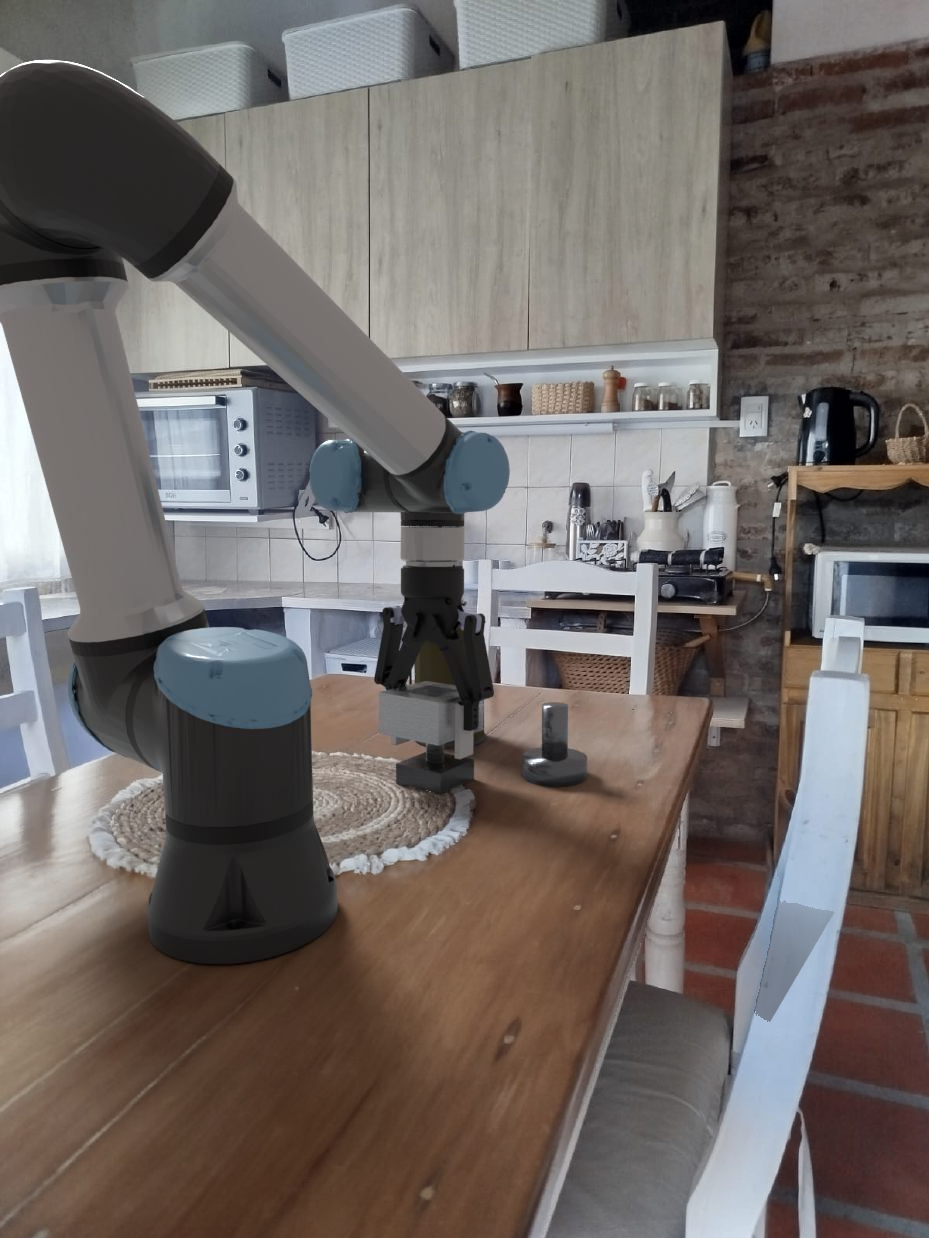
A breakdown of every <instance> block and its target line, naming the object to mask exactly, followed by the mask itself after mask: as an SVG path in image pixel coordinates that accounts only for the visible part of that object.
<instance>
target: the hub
mask: <svg viewBox="0 0 929 1238" xmlns="http://www.w3.org/2000/svg"><path fill="white" fill-rule="evenodd" d="M568 743H569V704H567V703H564V702H557V701H555V702H554V701H553V702H551V701H549V702H545V703H542V704H541V747H537V748H532V749H529V750H527V751H524V752H523V754H522V755H521V756H522V759H521V761H522V769H521V772H522V778H523V779H524V780H525V781H526V782H529V783H531V784H534V785H538V786H542V787H543V786H544V787H552V788H553V787H559V788H560V787H570V786H571V787H572V786H576V785H579V784H581V783H584V782H585V781H586V780H587V779H588V755H586V753H585V752H582V751H580V750H578V749H572V748H568V747H569V744H568Z"/></svg>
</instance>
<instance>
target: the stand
mask: <svg viewBox="0 0 929 1238" xmlns="http://www.w3.org/2000/svg"><path fill="white" fill-rule="evenodd" d="M474 779H475V758H471V757H465V758H462V759H456V758H455V754H451V753H446V752H445V748H444V744H442V745H439V746H438V745H433V744H428V743H426V746H425V752H422V753H420V754H417V755H415V756H412V757H409V758H406V759H404V760H402V761H399V762H397V763H395V782H396V784H397V785H402V786H406V787H409V788H413V787H415V788H414V789H417V788H418V789H417V790H422V791H425V790H428V791H427V792H429V791H431V792H430V793H433V792H434V794H438V795H442V794H445V793H447V792H449V791H451V790H453V789H456V788H457V787H459V786H462V785H464V784H466V783H468V782H471V781H473V780H474Z"/></svg>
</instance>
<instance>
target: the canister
mask: <svg viewBox="0 0 929 1238" xmlns="http://www.w3.org/2000/svg"><path fill="white" fill-rule="evenodd" d="M461 604H462V607H463V608H464V607H466V606H467V605H468V602H467V601H466V600H465V601H464V600H462V599H461ZM485 623H487V622H486V620H485ZM461 625H462V624H460V625H459V627H458V630H459V632H460V635H461V637H462V640H463V645H462V647H463V649H464V652H465V655H466V649H465V644H464V635H463V633H464V631H463V630H461ZM449 641H451V639H450V640H449ZM466 657H467V655H466ZM413 669H414V684H415V683H419V682H423V681H430V682H436V683H443V684H449V685H455V683H454V680H453V678H452V675H451V673H450V670H449V667H448V665H447V662H446V660H445V657H444V654H443V652H442V651H440V650H439V648H438V646H437V644H436V643H431V642H429V641H426V642H425V643H424V644H423V645H422V647H421V649H420V652H419V654H418V656H417V659H416V661H415V663H414V666H413ZM413 669H412V670H413ZM412 670H411V673H410V675H409V677H408V682H409V683H408V685H411V684H413V681H412V680H413V679H412V677H413V675H412ZM486 738H487V734H486V733H485V716H484V717H483V730H482V731H479V732H476V733H473V747H474V746H476V745H480V744H481V743H483V742H484V741H485V740H486ZM415 742H416V743H417V744H419V745H421V746H424V747H426V743H423V742H419V741H415ZM444 749H455V740H453V741H450V742H448V743H445V744H444Z"/></svg>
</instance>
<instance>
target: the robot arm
mask: <svg viewBox="0 0 929 1238" xmlns="http://www.w3.org/2000/svg"><path fill="white" fill-rule="evenodd" d="M124 260H125V261H126V262H127V263H129V264H130V265H132V267H134V268H135V269H136V270H137V271H138V272H139V273H141V274H142V275H143V276H145V277H146V279H148V280H150V282H155V283H156V282H158V283H159V282H160V283H161V282H171V283H173V284H174V285H176V286H177V287H178V288H179V289H181V291H182V292H183V293H185V295H187V296H188V297H189V298H190V299H191V300H193V301H194V302H195V303H196V304H197V305H198V306H200V308H202V309H203V310H204V311H205V312H207V314H208V315H210V316H211V317H212V318H213V319H214V320H215V321H217V322H218V323H219V324H220V325H221V326H222V327H224V328H225V329H226V330H227V331H228V332H229V333H230V334H231V335H232V336H233V337H235V338H236V339H237V340H238V341H239V342H240V343H242V345H243V346H245V347H246V348H247V349H248V350H250V351H251V352H252V353H253V354H254V355H255V356H256V357H257V358H259V359H260V360H261V361H262V362H263V363H264V364H265V365H266V366H268V367H269V368H270V369H271V370H272V371H274V372H275V373H276V375H278V376H279V377H280V378H281V379H283V380H284V381H285V382H286V383H287V384H288V385H290V386H291V387H292V388H293V389H294V390H295V391H296V392H297V393H298V394H300V395H301V396H302V397H303V398H304V399H305V400H306V401H308V402H309V403H310V404H311V405H312V406H313V407H314V408H315V409H317V410H318V411H319V412H320V413H321V414H322V415H323V416H325V417H326V418H327V419H328V420H329V421H330V422H332V423H333V424H334V426H336V427H337V428H338V429H340V431H342V433H344V434H345V435H346V436H347V437H348V438H347V439H329V440H326V441H325V442H323V443H321V444H320V445H319V446H318V447H317V448H316V450H315V451H314V453H313V455H312V457H311V461H310V464H309V465H310V466H309V469H308V472H309V486H310V491H311V493H312V495H313V497H314V499H315V500H316V503H317V504H318V505H319V506H320V507H321V508H323V509H325V510H327V511H330V512H341V513H343V512H344V513H345V514H353V513H399V514H400V557H399V558H400V560H401V561H403V562H405V565H402V567H400V595H402V596H403V597H404V598H403V603H402V606H401V605H394V606H387V607H384V608H383V609H382V612H381V613H382V622H383V623H382V624H383V625H382V626H383V627H382V628H383V629H382V634H381V639H380V643H379V644H380V645H379V649H378V655H377V661H376V667H375V670H374V671H375V673H374V679H373V680H374V683H375V684H376V685H379V686H380V685H381V686H382V687H384V689H385V691H386V690H390V689H394V688H399V687H403V686H407V685H408V684H407V682H408V681H409V675H410V673H411V670H413V669H414V663H415V661H416V659H417V656H418V654H419V652H420V649H421V647H422V645H423V644H424V643H425V642H426V641H429V642H431V643H436V644H437V646H438V648H439V650H440V651H442V652H443V654H444V657H445V660H446V662H447V665H448V667H449V670H450V673H451V675H452V678H453V680H454V683H455V686H456V688H457V691H458V694H459V696H460V699H461V701H459V702H458V703H456V704H455V748H454V755H455V758H456V759H462V758H465V757H466V758H468V757H469V756H473V755H474V746H473V730H475V729H477V728H478V725H479V717H478V716H479V702H480V701H481V700H484V701H485V700H487V699H491V698H493V697H494V695H495V691H494V684H493V680H492V671H491V668H490V660H489V656H488V652H487V651H488V650H487V645H486V639H485V625H486V622H485V621H486V616H485V615H484V613H469V612H466V611H465V610H464V606H462V604H461V600H462V599H463V596H464V594H465V568H463V567H464V566H462V565H460V562H462V561H463V560H465V514H466V513H476V512H485V511H488V510H491V509H493V508H495V506H496V505H497V504H499V503H500V502H501V500H502V499H503V497H504V495H505V493H506V489H507V488H508V486H509V481H510V474H511V473H510V471H511V470H510V468H511V467H510V462H509V461H510V460H509V457H508V454H507V451H506V449H505V447H504V446H503V444H502V443H501V441H500V440H499V439H498V438H496V437H495V436H494V435H492V434H489V433H486V432H476V431H475V430H467V431H465V432H462V431H461V430H459V428H457V426H456V425H455V424H454V423H453V422H452V421H451V420H450V419H449V418H448V417H447V416H445V414H443V412H442V411H441V410H440V409H439V408H438V407H437V406H436V405H435V404H434V403H433V402H432V401H431V400H430V399H429V398H428V396H426V394H424V393H423V392H422V391H421V390H420V389H419V388H418V386H417V385H415V383H414V382H413V381H412V380H410V378H409V377H408V376H407V375H406V373H404V372H403V371H402V370H401V369H400V368H399V366H397V364H395V362H393V361H392V360H391V359H390V358H389V356H388V355H386V353H384V351H383V350H381V348H379V346H378V345H377V344H376V343H375V342H374V341H373V340H372V339H371V338H370V337H369V336H368V335H367V334H366V333H365V332H364V331H363V330H362V329H361V328H360V327H359V326H358V325H357V323H355V322H354V321H353V320H352V319H351V317H349V315H347V313H346V312H345V311H344V310H343V309H342V308H341V307H340V306H339V305H338V303H336V302H335V301H334V300H333V299H332V298H331V297H330V296H329V295H328V293H326V292H325V291H324V290H323V288H321V286H319V284H318V283H317V282H316V281H314V280H313V278H312V277H311V276H310V275H309V274H308V273H306V271H305V270H304V269H303V268H302V267H301V266H300V265H299V264H298V263H297V261H295V260H294V258H292V257H291V255H289V254H288V253H287V252H286V251H285V250H284V248H282V246H281V245H280V244H278V242H277V241H276V240H275V239H274V238H273V237H272V236H271V235H270V234H269V233H268V232H267V231H266V230H265V229H264V228H263V227H262V226H261V225H260V224H259V222H257V221H256V220H255V219H254V218H253V216H251V214H250V213H249V212H247V210H246V209H245V208H244V207H243V206H242V205H241V204H240V203H239V198H238V186H237V180H236V179H235V178H234V177H233V176H232V175H231V173H229V172H228V171H227V170H226V169H225V168H224V167H223V165H222V164H221V163H220V162H219V161H218V160H216V158H215V157H214V156H212V154H210V152H209V151H208V150H207V149H205V147H204V146H203V145H202V144H201V143H200V142H199V141H198V140H197V139H196V138H195V137H194V136H193V135H192V134H190V133H189V132H188V131H187V130H186V129H185V128H183V127H182V126H181V125H180V124H179V123H178V122H176V121H175V120H174V119H173V118H172V117H171V116H169V115H168V114H166V113H165V112H164V111H162V109H160V108H159V107H158V106H156V105H155V104H154V103H152V102H151V101H150V100H148V99H147V98H145V96H143V95H141V94H140V93H138V92H137V91H135V90H134V89H133V88H131V87H129V86H128V85H127V84H124V83H123V82H120V81H119V80H118V79H117V80H116V79H115V78H113V77H112V76H109V75H108V74H105V73H104V72H102V71H99V70H97V69H93V68H91V67H88V66H85V65H83V64H79V63H75V62H71V61H64V60H55V59H43V60H40V59H39V60H33V61H28V62H24V63H21V64H18V65H17V66H14V67H12V68H10V69H8V70H7V71H5V72H3V73H2V74H0V324H1V326H2V329H3V333H4V337H5V341H6V345H7V349H8V351H9V355H10V359H11V362H12V367H13V369H14V374H15V378H16V380H17V383H18V387H19V392H20V397H21V400H22V402H23V407H24V410H25V414H26V416H27V421H28V424H29V428H30V431H31V435H32V438H33V441H34V446H35V451H36V453H37V456H38V460H39V463H40V467H41V472H42V475H43V478H44V482H45V485H46V486H45V487H46V489H47V492H48V496H49V500H50V503H51V507H52V512H53V514H54V518H55V521H56V525H57V530H58V533H59V537H60V540H61V542H62V547H63V551H64V554H65V555H64V556H65V558H66V561H67V564H68V568H69V569H68V570H69V572H70V577H71V579H72V580H71V581H72V583H73V587H74V591H75V594H76V598H77V601H78V605H79V610H80V611H79V614H78V616H77V617H76V619H75V620H74V622H73V623H72V625H71V626H70V628H69V630H68V631H67V637H68V641H69V644H70V647H71V650H72V655H73V658H74V663H73V665H72V666H71V668H70V671H69V675H68V681H67V693H68V694H67V695H68V701H69V705H70V707H71V709H72V712H73V715H74V717H75V719H76V721H77V722H78V723H79V725H80V727H81V728H82V729H83V730H84V731H85V732H86V734H88V735H89V736H90V737H92V738H93V739H94V741H96V742H97V743H98V744H100V746H101V747H103V748H106V749H107V750H108V751H110V752H111V753H116V754H118V755H121V756H122V757H123V758H124V757H125V758H127V759H128V758H129V759H131V760H133V761H136V762H138V763H140V764H143V765H145V766H147V767H149V768H152V769H153V770H155V771H158V772H159V773H162V784H163V800H164V801H163V802H164V817H165V839H164V844H163V847H162V851H161V853H160V858H159V862H158V866H157V871H156V874H155V878H154V883H153V886H152V887H153V888H152V890H151V893H150V895H149V897H148V901H147V909H146V910H147V911H146V913H147V916H146V917H147V930H148V932H147V933H148V937H149V940H150V942H151V943H152V945H153V946H154V947H155V948H156V949H157V950H158V951H161V952H162V953H163V954H166V955H167V956H169V957H171V958H175V959H178V960H181V961H185V962H190V963H196V964H205V965H206V964H209V965H228V964H229V965H230V964H240V963H241V964H242V963H248V962H256V961H260V960H264V959H269V958H273V957H277V956H280V955H283V954H285V953H288V952H292V951H293V950H296V949H297V948H300V947H303V946H304V945H307V944H309V943H311V942H312V941H313V940H316V938H319V936H320V935H322V934H323V933H324V932H326V930H328V929H329V928H330V926H331V925H332V924H333V922H334V921H335V920H336V917H337V915H338V909H339V904H338V903H339V902H338V882H337V879H336V875H335V872H334V870H333V869H332V868H331V865H330V862H329V858H328V855H327V851H326V850H325V846H324V843H323V841H322V838H321V837H320V834H319V831H318V828H317V825H316V821H315V816H314V814H315V813H314V787H313V783H314V782H313V781H314V780H313V754H312V753H313V752H312V748H313V747H312V746H313V745H312V712H311V711H312V710H311V709H312V707H311V706H312V705H311V704H312V703H311V702H312V698H313V688H312V685H311V680H310V671H309V666H308V660H307V657H306V654H305V652H304V650H303V649H302V648H301V647H300V646H299V644H298V643H296V642H295V641H293V640H292V639H290V638H288V637H286V636H283V635H282V634H278V633H275V632H272V631H267V630H262V629H245V628H243V627H233V626H231V627H229V626H222V627H220V626H219V627H215V626H214V627H210V625H209V622H208V617H207V613H206V609H205V605H204V603H203V601H202V600H199V599H198V598H197V597H195V596H193V595H191V593H189V592H187V591H185V590H184V589H183V587H182V584H181V579H180V575H179V572H178V568H177V562H176V559H175V555H174V550H173V547H172V543H171V542H172V541H171V537H170V535H169V531H168V530H169V529H168V525H167V521H166V518H165V513H164V509H163V508H164V507H163V504H162V501H161V497H160V493H159V488H158V484H157V480H156V476H155V471H154V467H153V463H152V459H151V455H150V451H149V450H150V449H149V446H148V443H147V438H146V437H147V436H146V434H145V429H144V426H143V422H142V421H143V420H142V416H141V413H140V409H139V408H140V407H139V405H138V400H137V396H136V393H135V388H134V384H133V383H134V382H133V379H132V374H131V371H130V367H129V363H128V359H127V355H126V350H125V347H124V342H123V338H122V332H121V328H120V325H119V321H118V317H117V312H116V311H117V308H118V305H119V304H120V303H121V301H122V299H123V298H124V297H125V295H126V293H128V290H129V288H130V287H129V282H128V276H127V272H126V268H125V263H124ZM404 622H405V623H406V628H405V630H404ZM460 624H462V625H461V630H463V631H464V633H463V635H464V644H465V649H466V655H467V657H466V655H465V652H464V649H463V647H462V645H463V640H462V637H461V635H460V632H459V630H458V627H459V625H460ZM403 632H404V633H403ZM450 639H451V641H449V640H450ZM401 643H402V644H401ZM390 738H391V739H390V740H391V741H390V742H391V743H390V744H391V745H392V746H399V745H403V744H404V743H408V742H410V741H411V740H409V739H404V738H399V737H395V736H390Z"/></svg>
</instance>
